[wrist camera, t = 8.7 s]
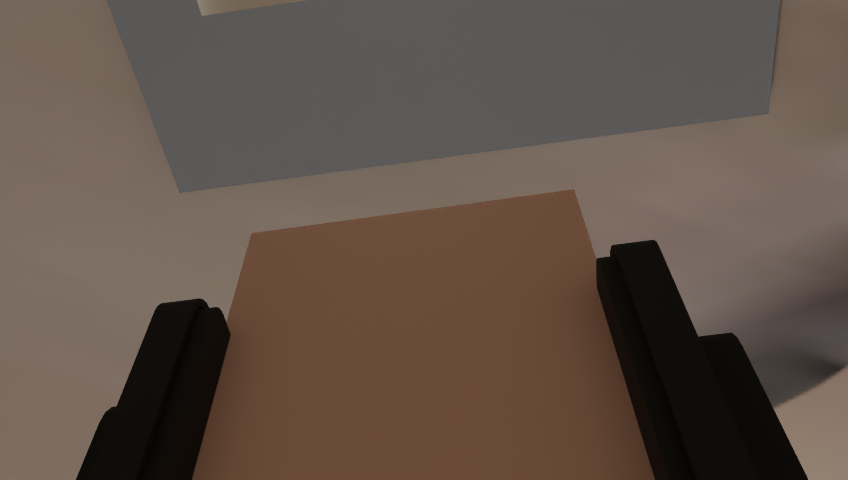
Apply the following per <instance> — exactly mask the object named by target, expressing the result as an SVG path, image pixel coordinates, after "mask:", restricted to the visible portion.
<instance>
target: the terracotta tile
mask: <svg viewBox="0 0 848 480" xmlns="http://www.w3.org/2000/svg"><path fill="white" fill-rule="evenodd" d="M227 326H228V328H229V331H230V333H231V336H230V340H229V343H228V347H227V351H226V355H225V358H224V362H223V366H222V370H221V373H220V377H219V381H218V384H217V388H216V392H215V396H214V399H213V403H212V407H211V411H210V414H209V418H208V422H207V426H206V429H205V433H204V437H203V440H202V444H201V448H200V452H199V455H198V459H197V463H196V467H195V470H194V474H193V478H192V480H655V478H654V475H653V472H652V468H651V465H650V462H649V459H648V455H647V452H646V449H645V445H644V442H643V439H642V435H641V432H640V429H639V426H638V422H637V419H636V416H635V412H634V409H633V406H632V402H631V399H630V396H629V393H628V389H627V386H626V383H625V379H624V376H623V373H622V369H621V366H620V363H619V360H618V356H617V353H616V350H615V346H614V343H613V340H612V336H611V333H610V330H609V327H608V323H607V320H606V317H605V313H604V310H603V307H602V303H601V300H600V297H599V294H598V290H597V279H596V257H595V254H594V251H593V248H592V244H591V241H590V238H589V235H588V232H587V229H586V225H585V222H584V219H583V216H582V213H581V210H580V207H579V203H578V200H577V197H576V194H575V191H574V190H567V191H560V192H553V193H545V194H538V195H531V196H523V197H516V198H509V199H501V200H494V201H487V202H479V203H472V204H464V205H457V206H450V207H442V208H435V209H428V210H420V211H413V212H406V213H398V214H391V215H383V216H376V217H369V218H361V219H354V220H347V221H339V222H332V223H325V224H317V225H310V226H303V227H295V228H288V229H280V230H273V231H266V232H258V233H252V234H251V237H250V241H249V244H248V248H247V251H246V255H245V259H244V262H243V266H242V269H241V273H240V276H239V280H238V284H237V287H236V291H235V294H234V298H233V301H232V305H231V309H230V312H229V316H228V319H227Z"/></svg>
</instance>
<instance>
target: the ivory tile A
mask: <svg viewBox="0 0 848 480" xmlns="http://www.w3.org/2000/svg"><path fill="white" fill-rule="evenodd" d="M298 1H304V0H197V3H198V6H199V9H200V12H201V15H202V16H206V15H212V14H219V13H225V12H232V11H239V10H245V9H252V8H258V7H265V6H271V5H278V4H285V3H291V2H298Z"/></svg>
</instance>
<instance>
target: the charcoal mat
mask: <svg viewBox="0 0 848 480" xmlns="http://www.w3.org/2000/svg"><path fill="white" fill-rule="evenodd" d="M107 2H108V5H109V7H110V10H111V12H112V15H113V18H114V20H115V23H116V26H117V28H118V31H119V34H120V36H121V39H122V41H123V44H124V47H125V49H126V52H127V55H128V57H129V60H130V62H131V65H132V68H133V70H134V73H135V76H136V78H137V81H138V84H139V86H140V89H141V91H142V94H143V97H144V99H145V102H146V105H147V107H148V110H149V113H150V115H151V118H152V120H153V123H154V126H155V128H156V131H157V134H158V136H159V139H160V142H161V144H162V147H163V149H164V152H165V155H166V157H167V160H168V163H169V165H170V168H171V170H172V173H173V176H174V178H175V181H176V184H177V186H178V189H179V192H180V193H182V192H189V191H196V190H204V189H211V188H219V187H226V186H234V185H241V184H249V183H256V182H263V181H271V180H278V179H286V178H293V177H301V176H308V175H316V174H323V173H331V172H338V171H345V170H353V169H360V168H368V167H375V166H383V165H390V164H398V163H405V162H413V161H420V160H427V159H435V158H442V157H450V156H457V155H465V154H472V153H480V152H487V151H494V150H502V149H509V148H517V147H524V146H532V145H539V144H547V143H554V142H562V141H569V140H576V139H584V138H591V137H599V136H606V135H614V134H621V133H629V132H636V131H644V130H651V129H658V128H666V127H673V126H681V125H688V124H696V123H703V122H711V121H718V120H725V119H733V118H740V117H748V116H755V115H763V114H768V113H769V103H770V93H771V83H772V74H773V64H774V54H775V45H776V35H777V25H778V16H779V6H780V0H304V1H298V2H291V3H285V4H278V5H271V6H265V7H258V8H252V9H245V10H239V11H232V12H225V13H219V14H212V15H206V16H202V15H201V12H200V9H199V6H198V3H197V0H107Z"/></svg>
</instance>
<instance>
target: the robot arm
mask: <svg viewBox="0 0 848 480" xmlns="http://www.w3.org/2000/svg"><path fill="white" fill-rule="evenodd" d="M596 279H597V290H598V294H599V297H600V300H601V303H602V307H603V310H604V313H605V317H606V320H607V323H608V327H609V330H610V333H611V336H612V340H613V343H614V346H615V350H616V353H617V356H618V360H619V363H620V366H621V369H622V373H623V376H624V379H625V383H626V386H627V389H628V393H629V396H630V399H631V402H632V406H633V409H634V412H635V416H636V419H637V422H638V426H639V429H640V432H641V435H642V439H643V442H644V445H645V449H646V452H647V455H648V459H649V462H650V465H651V468H652V472H653V475H654V478H655V480H808V479H807V476H806V474H805V472H804V470H803V468H802V466H801V464H800V462H799V460H798V458H797V456H796V454H795V452H794V450H793V448H792V446H791V444H790V442H789V440H788V438H787V436H786V434H785V431H784V429H783V428H782V425H781V423H780V421H779V419H778V417H777V415H776V413H775V411H774V409H773V407H772V405H771V403H770V401H769V399H768V397H767V395H766V393H765V391H764V389H763V387H762V385H761V383H760V381H759V379H758V377H757V375H756V373H755V371H754V369H753V367H752V365H751V363H750V361H749V359H748V357H747V354H746V352H745V350H744V348H743V346H742V345H741V343H740V341H739V340H738V338H737V337H736V336H735V335H734V334H733V333H725V334H716V335H708V336H700V337H698V335H697V333H696V331H695V328H694V326H693V324H692V321H691V319H690V317H689V314H688V312H687V310H686V308H685V305H684V303H683V301H682V298H681V296H680V294H679V291H678V289H677V287H676V284H675V282H674V280H673V278H672V275H671V273H670V271H669V268H668V266H667V264H666V261H665V259H664V257H663V255H662V252H661V250H660V248H659V245H658V244H657V242H656V241H655V240H649V241H641V242H633V243H625V244H618V245H612V246H611V250H610V257H604V258H597V260H596ZM230 336H231V333H230V331H229V328H228V326H227V323H226V320H225V318H224V315H223V313H222V311H221V310H220V309H219V308H218V307H214V308H209V307H208V305H207V303H206V302H205V301H204V300H203V299H192V300H184V301H177V302H169V303H161V304H160V305H158V306H157V308H156V310H155V311H154V314H153V316H152V319H151V322H150V324H149V327H148V329H147V332H146V334H145V337H144V339H143V342H142V344H141V347H140V349H139V352H138V354H137V357H136V359H135V362H134V364H133V367H132V369H131V372H130V374H129V377H128V379H127V382H126V384H125V387H124V389H123V392H122V394H121V397H120V399H119V402H118V404H117V407H111V408H110V409H109V410H108V411H106V412H105V414H104V415H103V417H102V419H101V421H100V423H99V425H98V427H97V430H96V432H95V435H94V437H93V439H92V442H91V444H90V447H89V449H88V452H87V454H86V456H85V459H84V461H83V464H82V466H81V469H80V471H79V473H78V476H77V478H76V480H192V478H193V474H194V470H195V467H196V463H197V459H198V455H199V452H200V448H201V444H202V440H203V437H204V433H205V429H206V426H207V422H208V418H209V414H210V411H211V407H212V403H213V399H214V396H215V392H216V388H217V384H218V381H219V377H220V373H221V370H222V366H223V362H224V358H225V355H226V351H227V347H228V343H229V340H230Z"/></svg>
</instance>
